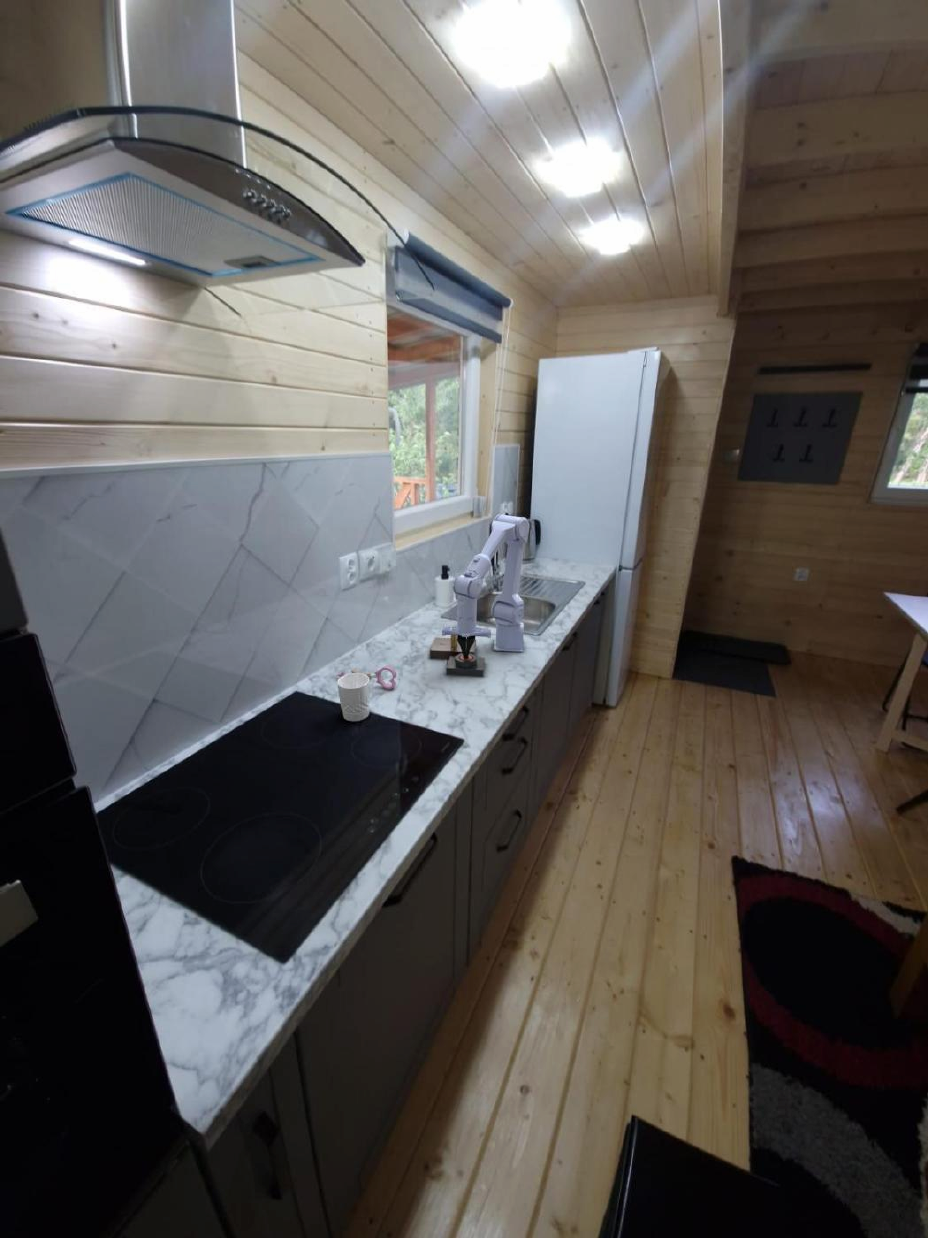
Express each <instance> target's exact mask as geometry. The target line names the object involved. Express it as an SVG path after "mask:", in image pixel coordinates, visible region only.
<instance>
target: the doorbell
mask: <svg viewBox="0 0 928 1238" xmlns="http://www.w3.org/2000/svg"><path fill="white" fill-rule="evenodd" d="M462 655H463V653H461V654H458V655H457V656H456V657H453V656H450V657H449V659H448V662H447V664H446V675H448V676H449V675H450V676H464V677H465V676H467V677H484V671H485V665H486V663H485V662H486V661H485V657H478V656H476V654H475V655H474V654H471V653H469V655H470V656H472V660H469V661H463V660H460V657H461V656H462Z"/></svg>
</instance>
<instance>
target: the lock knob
mask: <svg viewBox="0 0 928 1238" xmlns="http://www.w3.org/2000/svg"><path fill="white" fill-rule="evenodd" d="M450 638H451V647H456V643H457V635H450Z"/></svg>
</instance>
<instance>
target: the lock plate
mask: <svg viewBox="0 0 928 1238" xmlns="http://www.w3.org/2000/svg"><path fill="white" fill-rule="evenodd" d="M476 650H477V639H476V638H475V641H474V643H473V645H472V647H471V649H470V652H469V653H471V654H474V655H475V656H476ZM461 653H462V650H461V647H460V645H459V643H458V641H457V643H456V647H451V637H438V636H436V637H435V636H434V638H433V641H432V644H431V647H430V650H429V659H434V660H435V659H436V660H449V657H450V656H453V657H456V656H457V655H458V654H461Z"/></svg>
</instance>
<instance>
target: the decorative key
mask: <svg viewBox="0 0 928 1238" xmlns="http://www.w3.org/2000/svg"><path fill="white" fill-rule="evenodd" d="M383 671H389V672H390V673H391V674H392V678H390V679H388V682H389V683H391V685H390V684H387V683H386V682H385V681H384V679H383V678H382V672H383ZM351 673H361V674H365V675H367V676H368V677H369V681H371V680H372V679H373V678H374V679H376V681H375V683H376V684H378V685H380V686H381V687H383V688H384V689H385V690H393V689H394V688H395V687H396V685H397V682H396V678H397V671H396V670H395V669H394V668H393V667H392V666H389V665H385V666H383V667H381V668H380V669H377V670H375V671H374V672H373V674H372V673H371V672H367V673H362V672H360V671H357V670H356V669H354V668H352V670H351ZM347 674H348V673H346V672H345V670H343V671H342V672H341V673H339V674H335V676H337V677H339V678H340V677H342V676H344V675H347Z"/></svg>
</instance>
